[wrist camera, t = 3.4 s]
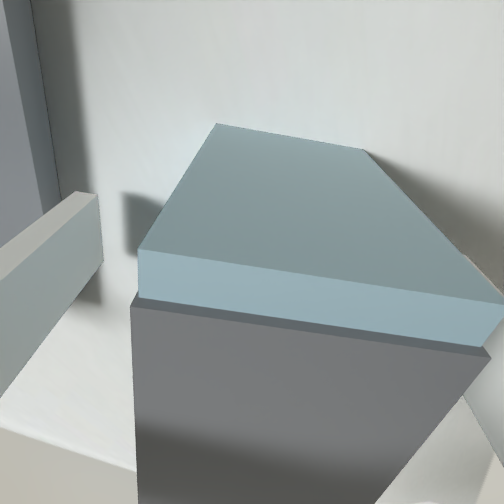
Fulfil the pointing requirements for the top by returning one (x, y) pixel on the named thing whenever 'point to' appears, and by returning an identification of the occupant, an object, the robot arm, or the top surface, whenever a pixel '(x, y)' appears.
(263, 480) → the block
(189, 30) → the top surface
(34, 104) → the pin tray
